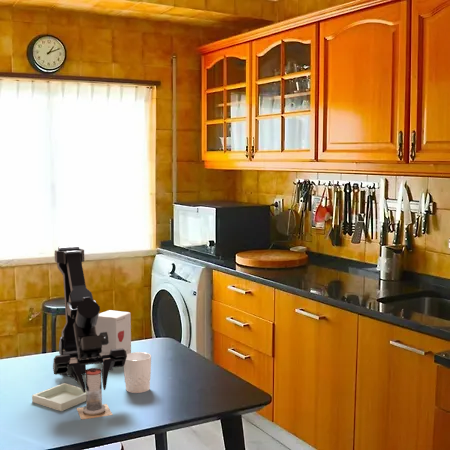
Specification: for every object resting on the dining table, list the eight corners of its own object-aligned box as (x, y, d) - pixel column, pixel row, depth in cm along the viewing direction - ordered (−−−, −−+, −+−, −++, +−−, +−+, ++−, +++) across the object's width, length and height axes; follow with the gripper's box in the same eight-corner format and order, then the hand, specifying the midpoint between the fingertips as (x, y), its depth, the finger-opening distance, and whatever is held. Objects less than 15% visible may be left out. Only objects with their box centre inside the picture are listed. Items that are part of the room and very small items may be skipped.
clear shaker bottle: (78, 412, 170) (77, 371, 169) (94, 405, 175) (93, 365, 173) (94, 417, 167) (93, 375, 166) (109, 410, 172) (108, 369, 170)
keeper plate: (76, 410, 173) (76, 408, 173) (106, 405, 176) (106, 403, 176) (81, 421, 166) (81, 419, 166) (112, 416, 169) (112, 414, 169)
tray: (32, 403, 177) (32, 395, 177) (64, 391, 187) (64, 383, 187) (61, 412, 171) (61, 404, 171) (93, 399, 180) (93, 391, 180)
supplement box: (116, 363, 211) (115, 318, 210) (93, 359, 215) (92, 315, 214) (132, 355, 220) (131, 312, 218) (110, 352, 223) (109, 309, 222)
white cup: (129, 397, 182) (128, 362, 181) (120, 388, 189) (119, 354, 188) (155, 392, 186) (155, 358, 185) (145, 383, 193) (145, 350, 192)
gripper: (53, 325, 169) (60, 380, 160) (124, 318, 175) (135, 371, 166) (50, 347, 177) (56, 400, 168) (118, 339, 184) (128, 391, 175)
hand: (94, 390), depth 169 cm, fingers open, 5 cm apart
